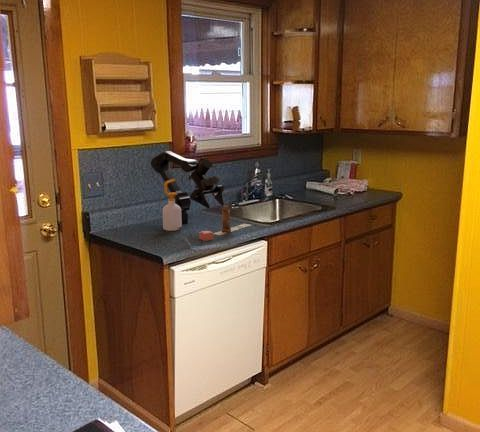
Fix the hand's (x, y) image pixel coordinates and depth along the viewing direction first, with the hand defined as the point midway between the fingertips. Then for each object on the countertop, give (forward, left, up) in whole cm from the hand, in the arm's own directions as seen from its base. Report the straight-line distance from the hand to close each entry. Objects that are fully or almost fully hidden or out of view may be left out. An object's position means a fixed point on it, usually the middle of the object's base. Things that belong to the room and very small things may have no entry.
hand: (216, 206), depth 249 cm
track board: (+7, -3, -12) cm, 15 cm away
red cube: (-9, -17, -12) cm, 23 cm away
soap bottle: (-20, +11, -12) cm, 26 cm away
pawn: (+3, -6, -11) cm, 13 cm away
